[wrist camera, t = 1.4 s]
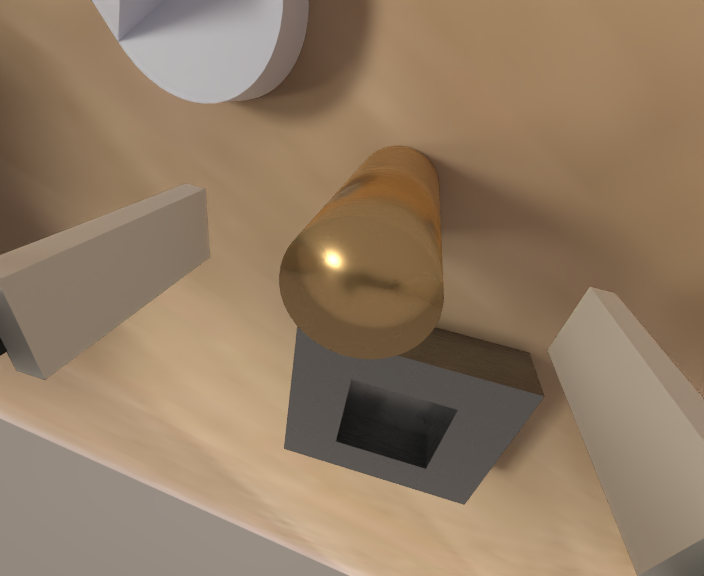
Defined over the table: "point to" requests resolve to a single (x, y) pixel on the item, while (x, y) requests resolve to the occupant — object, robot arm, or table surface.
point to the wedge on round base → (210, 44)
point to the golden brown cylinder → (371, 260)
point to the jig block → (412, 410)
